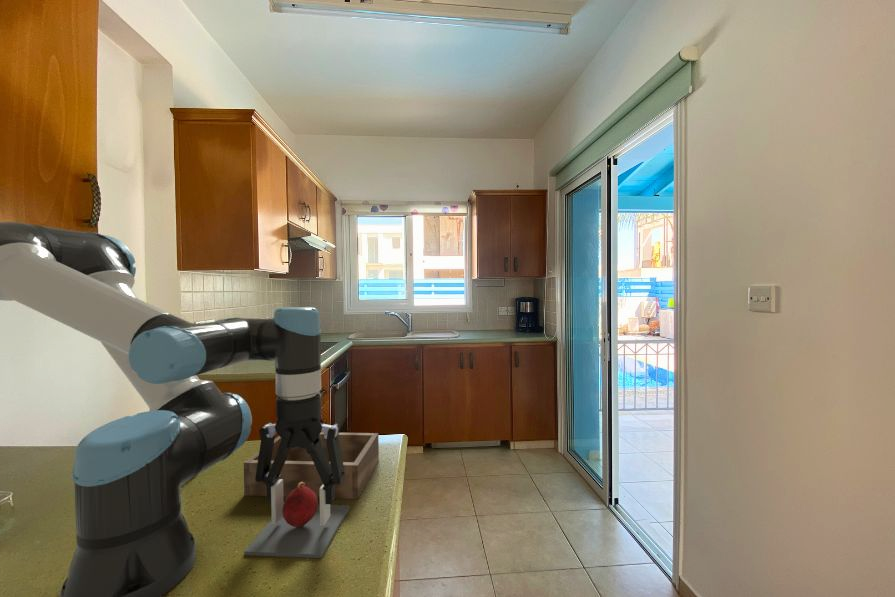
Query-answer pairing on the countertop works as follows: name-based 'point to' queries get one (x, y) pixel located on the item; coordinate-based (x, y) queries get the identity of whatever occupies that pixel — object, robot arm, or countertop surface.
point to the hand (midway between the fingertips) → (301, 519)
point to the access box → (300, 467)
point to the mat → (298, 536)
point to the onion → (300, 506)
